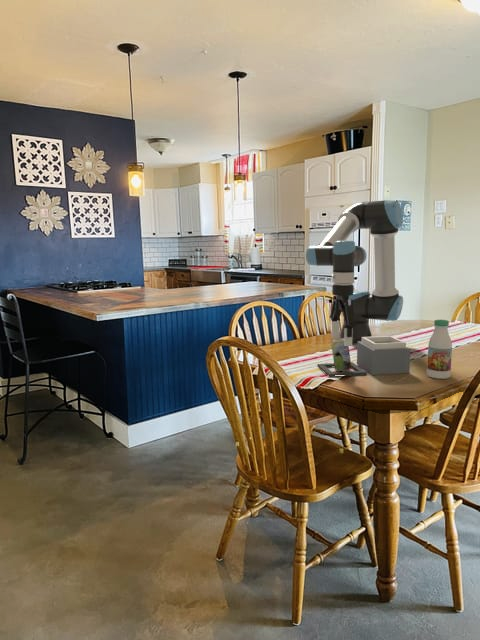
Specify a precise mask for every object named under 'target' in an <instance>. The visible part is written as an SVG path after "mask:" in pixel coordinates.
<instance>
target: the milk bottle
mask: <svg viewBox="0 0 480 640" xmlns="http://www.w3.org/2000/svg"><path fill="white" fill-rule="evenodd" d="M433 322H434V325H433V326H434V330H433V333H432V335H431V336H430V338H429V341H428V346H427V347H428V349H427V360H426V361H427V362H426V375H427V376H428V377H429V378H433V379H438V380H442V379H443V380H447V379H450V377H451V373H452V371H451V370H452V356H453V344H452V340H451V336H450V333H449V324H450V321H449V320H446V319H435V320H434V321H433Z"/></svg>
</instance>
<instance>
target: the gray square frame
mask: <svg viewBox="0 0 480 640" xmlns="http://www.w3.org/2000/svg"><path fill="white" fill-rule="evenodd" d="M317 366H318V367H319V368H318V369H320V370H321V369H322V370H323V371H324V372H325V373H326V374H327V375H329V376H335V375H346V376H345V377H350V376H352V377H354V376H367V373H368V372H367V371H366V370H365V369H363V368H362V367H360V366H359V365H357V363H354V362H353V361H352V362H351V368H350V369H352V368H353V369H352V370H351V371H350V370H348V371H342V372H340V371H334V372H333V371H332V370H330V368H333V367H332V366H334V362H331V363H317V365H316V367H317ZM322 370H321V371H322ZM323 371H322V372H323ZM324 372H323V373H324ZM325 373H324V374H325ZM326 374H325V375H326ZM327 375H326V376H327Z"/></svg>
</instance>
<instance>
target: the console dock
mask: <svg viewBox="0 0 480 640" xmlns="http://www.w3.org/2000/svg"><path fill="white" fill-rule="evenodd" d="M356 344H357V345H356V347H357V348H356V365H357V364H358V365H357V366H358V367H360V368H361V369H363V370H364V371H366V372H367V373H369V374H370V375H372V376H378V375H379V376H380V375H382V376H383V375H398V374H410V367H411V365H410V364H411V350H412V349H411V348H409V347H408V346H407V342H406V341H403V340H401V339H399V338H397V337H394V336H392V335H384V336H383V335H381V336H380V335H379V336H372V337H362V339H361V341H358V342H357V343H356Z"/></svg>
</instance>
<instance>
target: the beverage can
mask: <svg viewBox="0 0 480 640" xmlns="http://www.w3.org/2000/svg"><path fill="white" fill-rule="evenodd" d="M331 351H332V357H333V358H332V359H333V363H334V366H335V367H334V370H336V371H337V370H338V371H337V372H340V371H342V372H349V371H350V369H352V368H351V355H350V346H344V338H341V339H340V338H334V339H333V340H332V342H331Z"/></svg>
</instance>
